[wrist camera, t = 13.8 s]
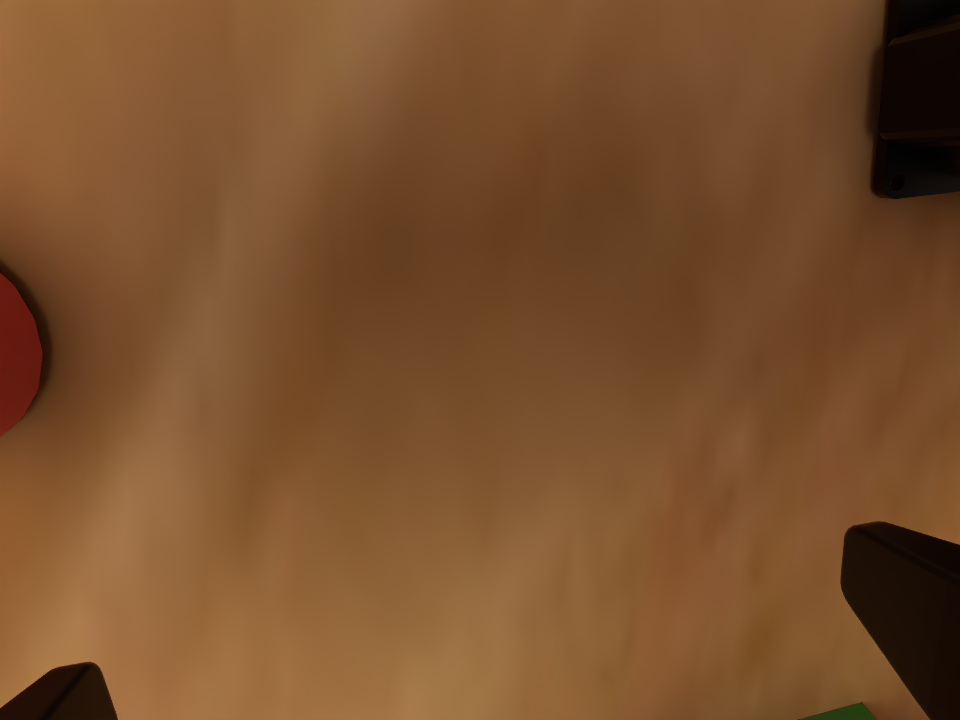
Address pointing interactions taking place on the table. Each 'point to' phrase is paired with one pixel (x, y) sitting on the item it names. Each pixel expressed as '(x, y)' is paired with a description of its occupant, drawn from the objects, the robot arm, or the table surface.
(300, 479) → the table surface
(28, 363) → the beer can
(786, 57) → the table surface
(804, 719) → the hardback book
